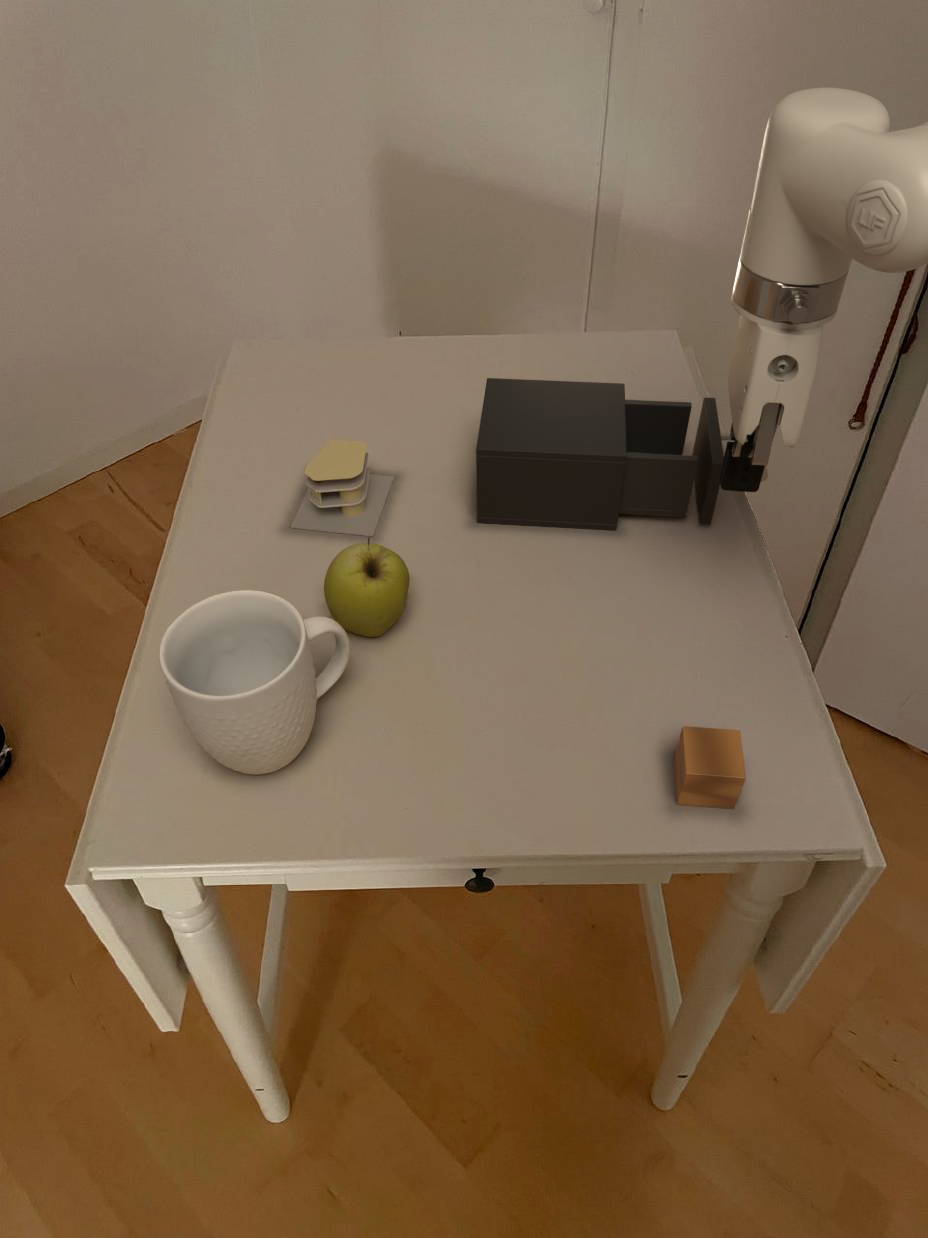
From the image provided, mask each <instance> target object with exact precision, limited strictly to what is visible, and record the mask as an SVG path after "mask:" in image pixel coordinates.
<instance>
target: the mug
mask: <svg viewBox="0 0 928 1238" xmlns="http://www.w3.org/2000/svg"><path fill="white" fill-rule="evenodd" d="M324 634H331V635H333V636H334V639H335V647H334V651H333V654H332V656H331V658H330V660H329V662H328V663H327V665H326V666H325V667H324V669H323V670H322V671H321V672H320V673H319V675H318V676H317V677H316V668H315V660H314V658H313V654H312V653H313V652H312V647H311V644H310V642H312V641H314V640H316V638H319V637H320V636H322V635H324ZM160 641H161V642H160V645H159V651H158V659H159V660H158V661H159V666H160V669H161V672H162V675H163V677H164V679H165V683H166V684H167V687H168V691H169V694H170V696H171V697H172V700H173V704H174V706H175V707H176V709H177V712H178V714H179V716H180V718H181V719H182V721H183V724H184V726H185V727H186V728H187V730H188V733H189V734H190V735H191V736H192V737H193V738H194V740H195V742H196V743H197V744H198V745H199V746H200V747H201V748H202V750H203V751H204V752H206V753H208V755H209V757H210V758H213V759H214V760H216V762H217V763H219V764H221V765H223V766H224V767H225V768H229V769H230V770H233V771H236V772H238V773H242V774H247V775H264V774H265V775H266V774H269V773H273V772H276V771H279V770H281V769H283V768H284V767H286V766H288V765H289V764H290V763H292V762H293V761H294V760H295V759H296V758H297V756H298V755H299V754H300V753H301V752H302V750H303V749H304V747H305V746H306V745H307V742H308V740H309V738H310V736H311V732H312V731H313V728H314V727H313V726H314V722H315V717H316V712H317V704H318V699H320V697H322V696H323V695H324V694H326V692H328V691H329V690H330V689H331V688H332V687H333V686H334V685H335V684H336V683H337V681H338V680H339V679H340V677H341V676H342V675H343V673H344V671H345V670H346V667H347V666H348V663H349V660H350V656H351V642H350V638H349V635H348V633H347V632H346V630H345V629H343V628H342V627H341V625H339V624H338V623H337V622H336V621H335V620H334V619H333V618H331V617H327V616H313V617H312V616H311V617H307V618H304V619H303V617H302V616H301V613H300V612H299V610H298V609H297V608H296V607H295V606H294V605H293V604H292V603H290V602H289V601H288V600H287V599H284V598H283V597H281V596H279V595H276V594H274V593H270V592H267V591H262V590H255V589H239V590H232V591H231V590H230V591H225V592H221V593H217V594H213V595H211V596H208V597H205V598H203V599H202V600H199V601H198V602H196V603H194V604H193V605H191V606H189V607H188V608H187V609H186V610H184V611H183V612H182V613H181V614H179V615H178V616H177V617H176V618H175V619H174V620H173V621H172V622H171V623H170V625H169V626H168V627H167V629H166V631H165V632H164V634H163V636H162V639H161V640H160Z"/></svg>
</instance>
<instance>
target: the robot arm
mask: <svg viewBox="0 0 928 1238" xmlns="http://www.w3.org/2000/svg"><path fill="white" fill-rule="evenodd" d="M890 119H891V118H890V114H889V112H888V109H887V108H886V106H885V105H884V104H883V103H882V102H881V101H880V100H879V99H877V98H875V97H873V96H871V95H869V94H867V93H864V92H860V91H857V90H853V89H848V88H840V87H828V86H827V87H812V88H811V87H810V88H805V89H801V90H797V91H794V92H791V93H790V94H788V95H786V96H784V97H783V98H782V99H781V100H779V101H778V102H777V104H776V105H775V106H774V107H773V108H772V111H771V112H770V115H769V116H768V120H767V123H766V127H765V132H764V136H763V142H762V146H761V152H760V156H759V161H758V166H757V171H756V176H755V180H754V185H753V189H752V195H751V196H752V197H751V200H750V205H749V209H748V214H747V220H746V225H745V230H744V235H743V240H742V244H741V249H740V254H739V260H738V264H737V268H736V273H735V279H734V283H733V288H732V293H731V299H730V302H731V306H732V307H733V309H734V311H736V312H737V314H738V315H740V317H739V321H738V324H737V328H736V329H737V330H736V334H735V338H734V342H733V346H732V347H733V348H732V351H731V356H730V362H729V367H728V375H727V376H728V378H727V390H728V400H729V407H730V415H731V425H730V430H729V433H730V440H734V441H727V442H726V446H725V450H724V453H723V454H724V458H723V463H722V467H721V472H720V481H721V483H720V489H721V490H722V491H726V492H727V491H728V492H743V493H744V492H745V493H756V492H758V491H759V489H760V485H761V483H762V482H761V479H762V475H763V471H764V468H765V466H766V467H767V466H768V464H769V460H770V455H771V450H772V445H773V442H774V438H775V435H776V433H777V429H778V426H779V429H780V433H781V438H782V443H783V447H789V448H795V447H796V446H797V445H798V444H799V443H800V440H801V436H802V432H803V429H804V426H805V425H804V424H805V421H806V417H807V413H808V408H809V404H810V399H811V395H812V392H813V387H814V383H815V378H816V374H817V370H818V364H819V359H820V353H821V348H822V339H823V331H824V325H826V324H828V323H829V322H831V321H832V320H833V319H834V318H835V317H836V315H837V313H838V312H837V311H838V308H839V304H840V302H841V298H842V294H843V291H844V288H845V285H846V281H847V277H848V274H849V271H850V267H851V264H852V261H853V260H854V261H856V262H857V263H859V264H860V265H862V266H864V267H866V268H869V269H871V270H874V271H876V272H882V273H886V274H901V273H905V272H909V271H913V270H916V269H919V268H921V267H924V266H925V265H927V264H928V121H926V122H923V123H922V124H920V125H918V126H914V127H909V128H904V129H900V130H893V131H890V129H891V128H890V126H891V120H890Z"/></svg>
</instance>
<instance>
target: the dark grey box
mask: <svg viewBox="0 0 928 1238" xmlns="http://www.w3.org/2000/svg"><path fill="white" fill-rule="evenodd" d="M625 386H626V384H625V383H623V382H622V383H621V382H620V383H619V382H596V381H594V382H593V381H573V380H572V381H570V380H549V379H548V380H547V379H545V380H544V379H524V378H520V379H519V378H500V377H499V378H497V377H487V378H486V382H485V389H484V395H483V402H482V408H481V415H480V422H479V427H478V435H477V441H476V448H475V455H476V456H475V469H476V472H475V473H476V475H475V476H476V477H475V480H476V481H475V482H476V523H477V524H486V525H487V524H488V525H489V524H490V525H491V524H492V525H507V526H527V527H543V528H544V527H546V528H563V529H581V530H582V529H583V530H597V531H598V530H599V531H600V530H601V531H617V530H618V523H619V508H620V501H621V494H622V487H623V479H624V472H625V465H626V458H627V449H626V416H625V400H626V387H625Z"/></svg>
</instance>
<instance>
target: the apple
mask: <svg viewBox="0 0 928 1238" xmlns="http://www.w3.org/2000/svg"><path fill="white" fill-rule="evenodd" d="M410 579H411V578H410V572H409V568H408V567H407V564H406V563H405V561H404V560H403V558H402V557H401V556H400V555H399V554H398V553H396V552H395V551H394V550H392V549H390V548H388V547H387V546H383V545H381V544H377V543H372V542H370V537H367V542H359V543H354V544H352V545H348V546H347V547H345V548H344V549H342V550H341V551H339V552H338V553H337V554H336V556H335V557H334V558H333V559H332V560H331V562H330V564H329V566H328V568H327V571H326V573H325V577H324V582H323V583H324V584H323V593H324V599H325V600H324V601H325V603H326V607H327V609H328V611H329V614H330V616H331V617H332V619H333V620H334V621H336V622H337V623H338V624H339V625H341V627H342V628H343V629H344V630H345V631H347V632H350V633H352V634H355V635H358V636H364V637H370V638H377V637H380V636H382V635H383V634H384V633H386V631H388V630H389V629H390V628H391V627H392V626H393V625H394V624H396V622H398V621H399V620H400V618H401V616H402V615H403V613H404V610H405V607H406V605H407V600H408V596H409V595H408V594H409V588H410V581H411V580H410Z"/></svg>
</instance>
